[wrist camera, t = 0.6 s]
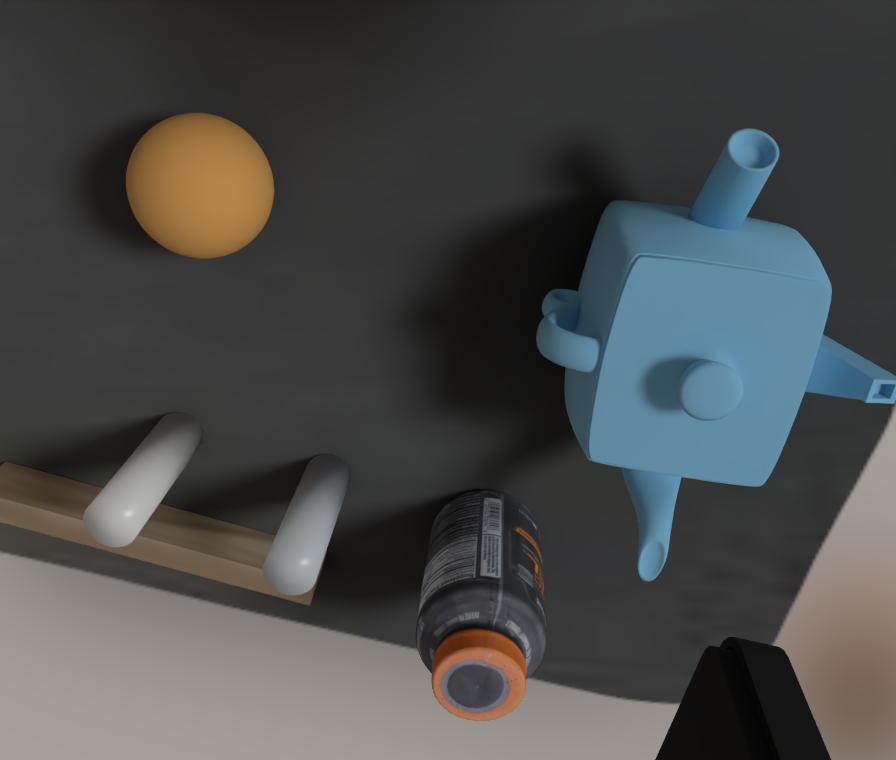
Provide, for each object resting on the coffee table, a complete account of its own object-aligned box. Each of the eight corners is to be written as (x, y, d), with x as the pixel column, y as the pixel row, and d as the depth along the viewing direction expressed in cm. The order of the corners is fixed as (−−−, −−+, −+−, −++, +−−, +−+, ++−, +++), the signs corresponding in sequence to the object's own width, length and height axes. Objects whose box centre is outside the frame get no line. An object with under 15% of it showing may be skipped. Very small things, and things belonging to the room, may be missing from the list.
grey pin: (310, 448, 44) (268, 544, 37) (355, 461, 44) (321, 559, 37) (301, 486, 45) (257, 587, 38) (345, 498, 45) (310, 601, 38)
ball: (168, 87, 37) (109, 103, 32) (300, 127, 38) (264, 149, 32) (151, 217, 40) (93, 252, 34) (275, 253, 40) (237, 293, 35)
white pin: (161, 406, 44) (85, 494, 36) (206, 419, 44) (140, 509, 36) (155, 445, 45) (80, 539, 37) (199, 457, 45) (134, 553, 37)
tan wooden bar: (5, 461, 46) (-27, 490, 43) (327, 549, 47) (315, 583, 44) (4, 484, 47) (-28, 514, 44) (321, 570, 48) (309, 605, 45)
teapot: (570, 85, 36) (589, 116, 27) (897, 135, 36) (1028, 183, 27) (501, 450, 44) (498, 571, 34) (771, 493, 44) (840, 625, 34)
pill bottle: (546, 574, 47) (556, 738, 36) (440, 583, 47) (420, 746, 37) (534, 481, 44) (540, 628, 34) (422, 492, 45) (395, 639, 35)
